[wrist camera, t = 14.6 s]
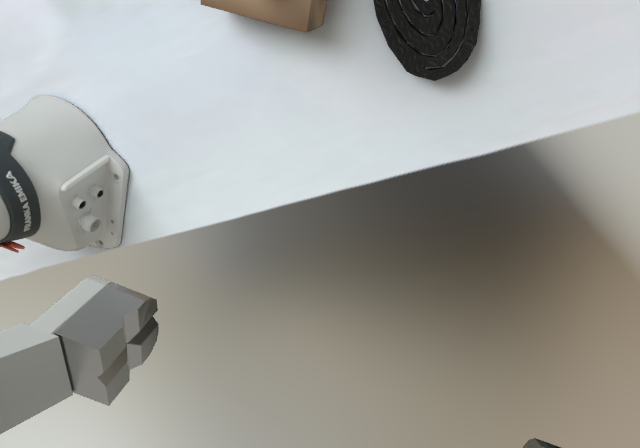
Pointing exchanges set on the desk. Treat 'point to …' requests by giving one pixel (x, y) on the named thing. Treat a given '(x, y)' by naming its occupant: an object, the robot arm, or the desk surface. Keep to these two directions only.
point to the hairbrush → (429, 25)
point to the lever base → (277, 11)
